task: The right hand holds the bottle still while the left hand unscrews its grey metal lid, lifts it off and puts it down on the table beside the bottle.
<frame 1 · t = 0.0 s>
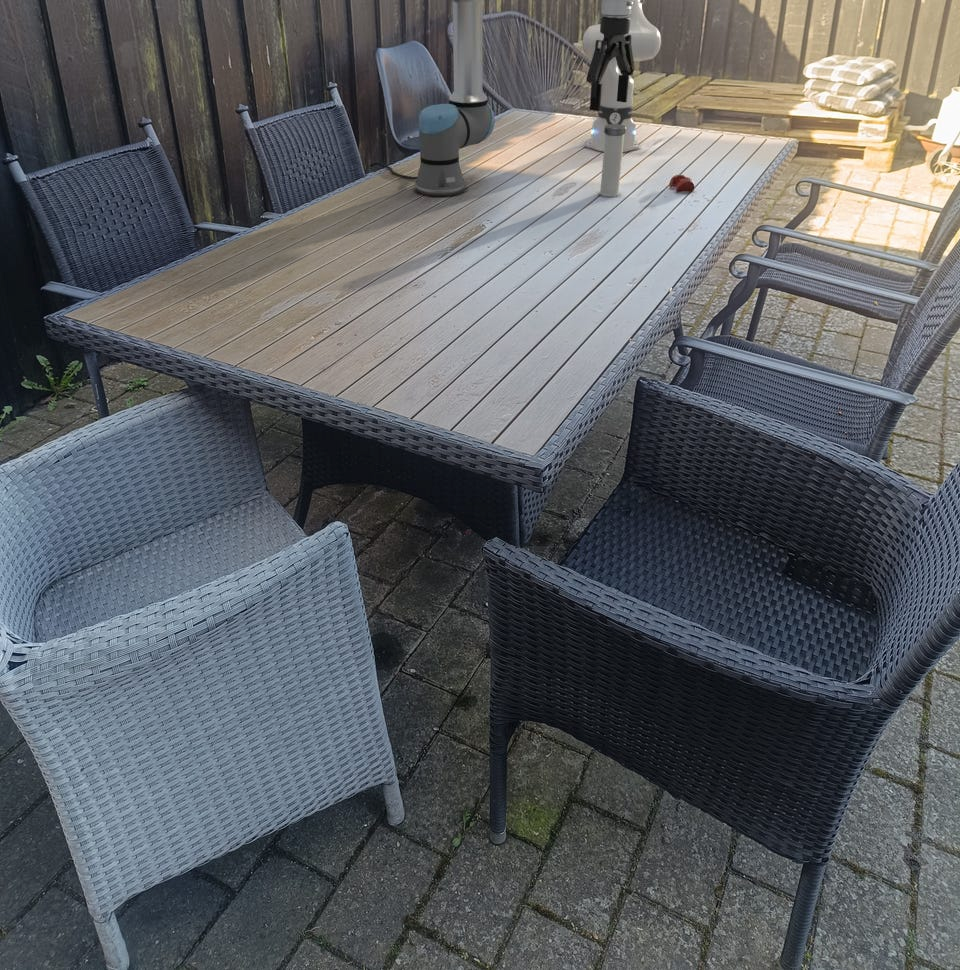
left hand: (608, 106, 226), 28 cm above the table, tool pointing down, fingers open, 13 cm apart
right hand: (625, 3, 246), 48 cm above the table, tool pointing down, fingers open, 8 cm apart
bottle: (609, 194, 255), on the table
lid: (615, 127, 244), point 19 cm above the table, screwed on, not yet turned
dental model: (681, 189, 258), on the table
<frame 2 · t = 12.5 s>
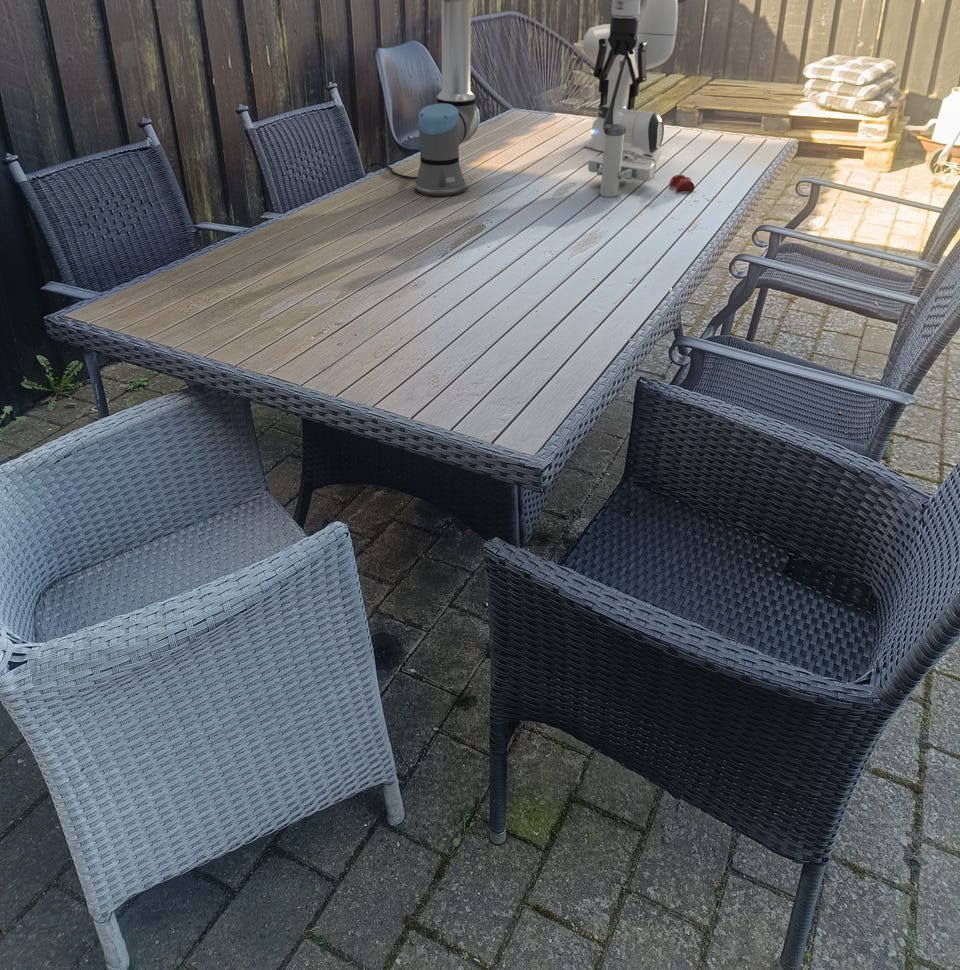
left hand: (617, 106, 240), 25 cm above the table, tool pointing down, fingers open, 8 cm apart
right hand: (609, 174, 251), 6 cm above the table, tool horizontal, fingers closed on bottle, 5 cm apart
bottle: (609, 194, 255), on the table, touching right hand
everything else where it was.
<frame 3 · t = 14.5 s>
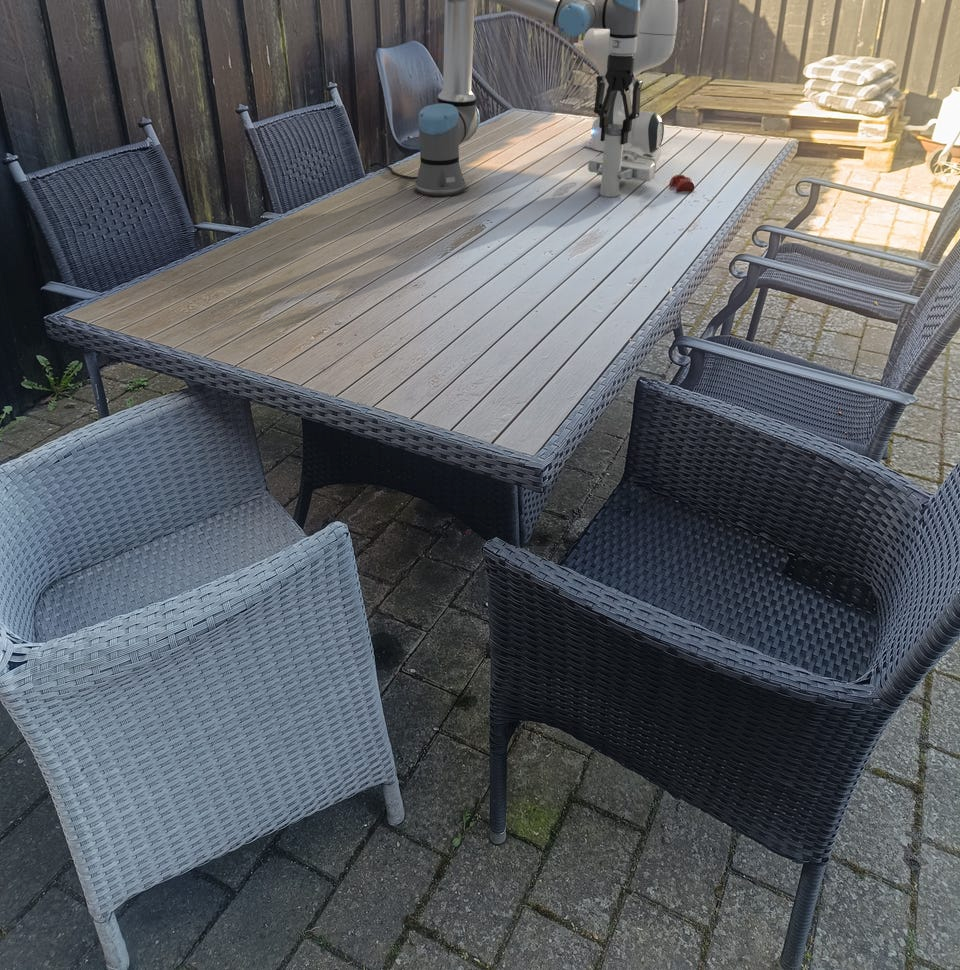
left hand: (613, 141, 246), 15 cm above the table, tool pointing down, fingers closed on lid, 6 cm apart
right hand: (609, 174, 251), 6 cm above the table, tool horizontal, fingers closed on bottle, 5 cm apart
bottle: (609, 194, 255), on the table, touching right hand
lid: (615, 127, 244), point 19 cm above the table, screwed on, not yet turned, touching left hand
everything else where it was.
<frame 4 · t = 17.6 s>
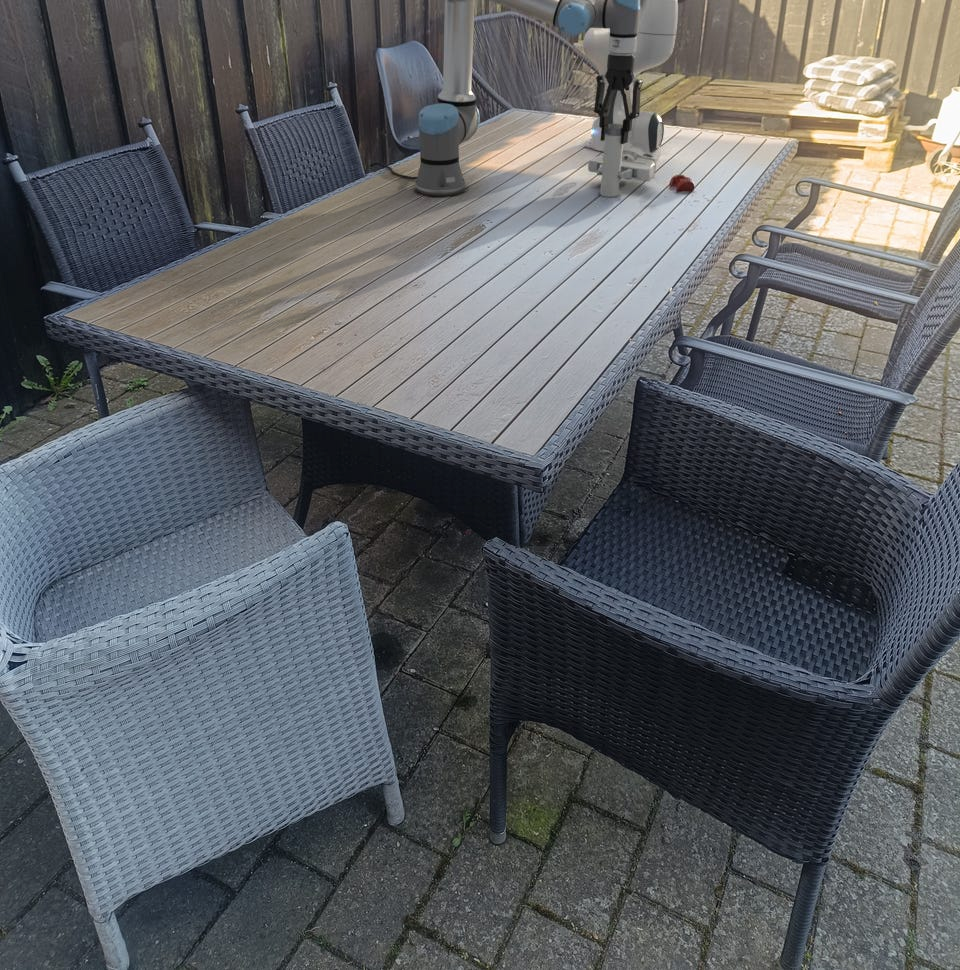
left hand: (613, 141, 246), 15 cm above the table, tool pointing down, fingers closed on lid, 6 cm apart
right hand: (609, 174, 251), 6 cm above the table, tool horizontal, fingers closed on bottle, 5 cm apart
bottle: (609, 194, 255), on the table, touching right hand
lid: (615, 127, 244), point 19 cm above the table, turned 93° so far, risen 0.1 cm, still on its thread, touching left hand
everything else where it was.
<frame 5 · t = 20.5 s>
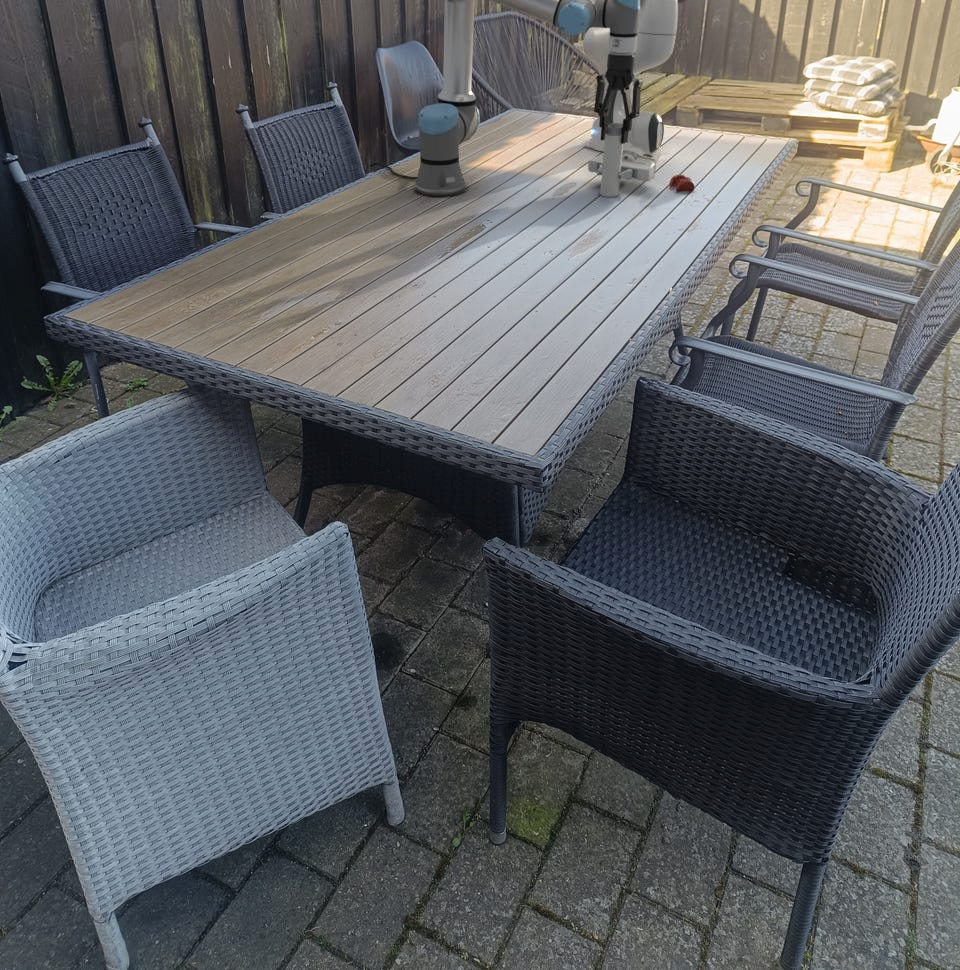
left hand: (614, 140, 246), 15 cm above the table, tool pointing down, fingers closed on lid, 6 cm apart
right hand: (609, 174, 251), 6 cm above the table, tool horizontal, fingers closed on bottle, 5 cm apart
bottle: (609, 194, 255), on the table, touching right hand
lid: (615, 126, 244), point 19 cm above the table, turned 187° so far, risen 0.2 cm, still on its thread, touching left hand
everything else where it was.
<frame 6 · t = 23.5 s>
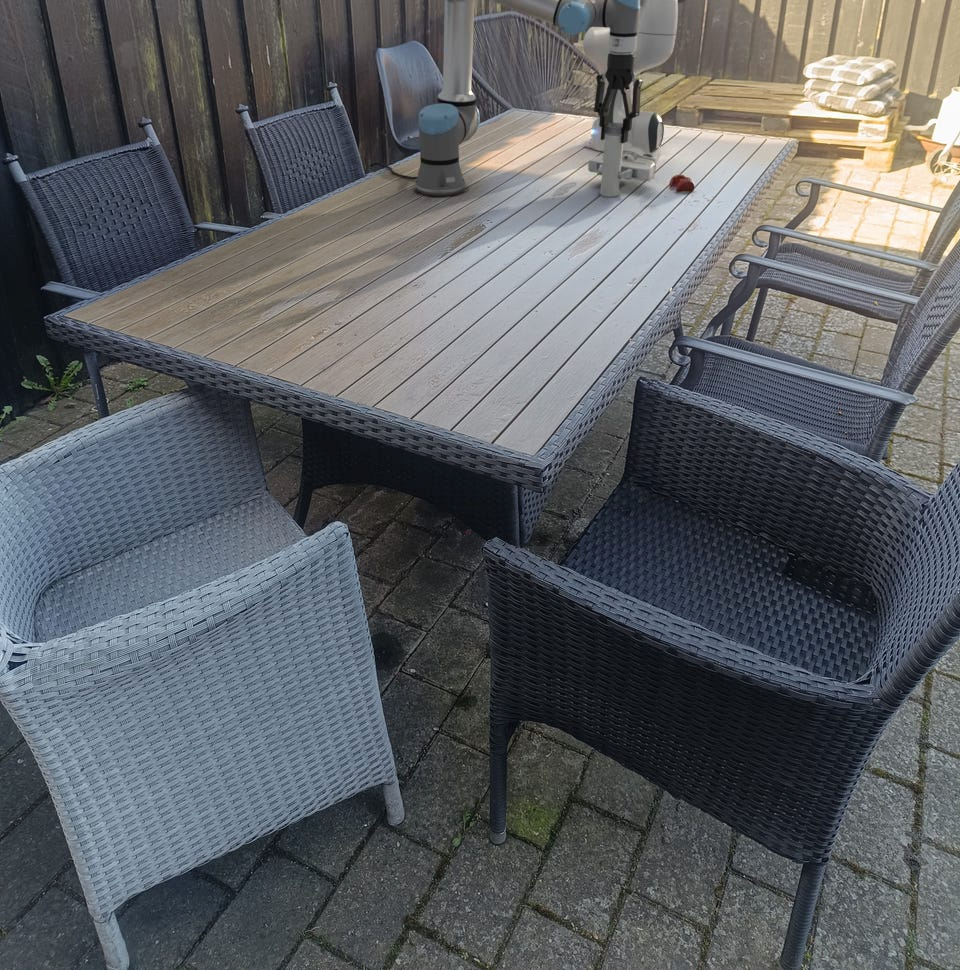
left hand: (614, 140, 246), 16 cm above the table, tool pointing down, fingers closed on lid, 6 cm apart
right hand: (609, 174, 251), 6 cm above the table, tool horizontal, fingers closed on bottle, 5 cm apart
bottle: (609, 194, 255), on the table, touching right hand
lid: (615, 126, 244), point 19 cm above the table, turned 280° so far, risen 0.3 cm, still on its thread, touching left hand
everything else where it was.
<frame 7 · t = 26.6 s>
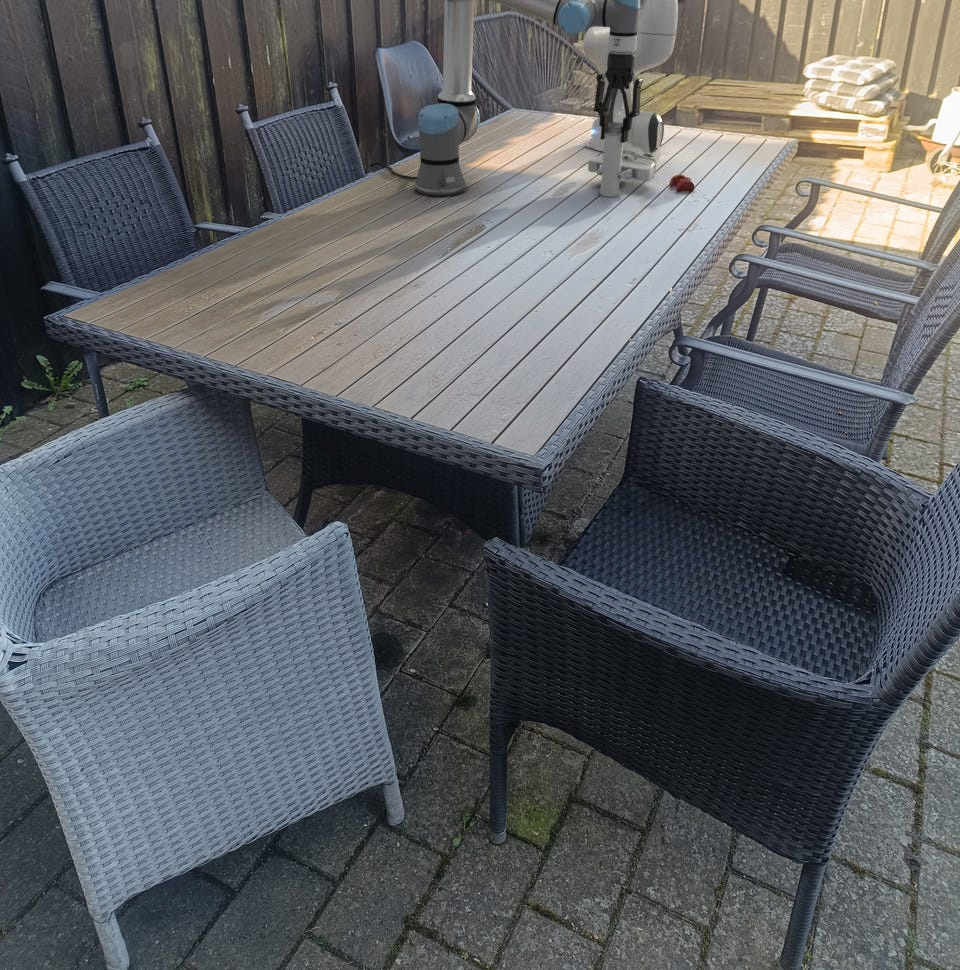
left hand: (614, 140, 246), 16 cm above the table, tool pointing down, fingers closed on lid, 6 cm apart
right hand: (609, 174, 251), 6 cm above the table, tool horizontal, fingers closed on bottle, 5 cm apart
bottle: (609, 194, 255), on the table, touching right hand
lid: (615, 126, 243), point 19 cm above the table, turned 373° so far, risen 0.5 cm, still on its thread, touching left hand
everything else where it was.
when the left hand's fingers open (0 cm above the table, at t = 32.9 s): lid drops 3 cm, point 1 cm above the table.
when the right hand's fingers open (6 cm above the table, at t = 34.0 s): bottle stays where it is, on the table.
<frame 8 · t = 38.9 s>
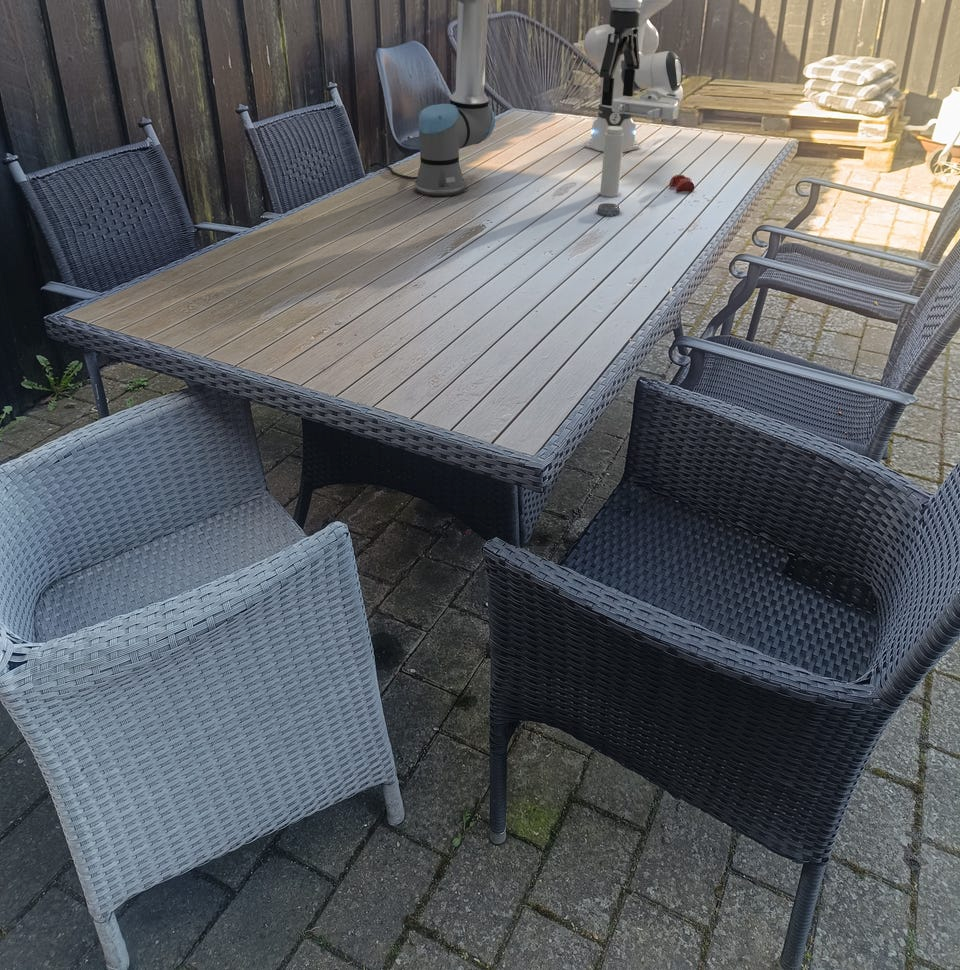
left hand: (617, 100, 223), 30 cm above the table, tool pointing down, fingers open, 13 cm apart
right hand: (634, 112, 251), 21 cm above the table, tool horizontal, fingers open, 8 cm apart
bottle: (609, 194, 255), on the table
lid: (608, 207, 240), point 1 cm above the table, off its thread
everything else where it was.
at the end: lid came off its thread; lid point 1.4 cm above the table; the left hand is holding nothing; the right hand is holding nothing; bottle tilted 0°; bottle moved 0.0 cm from its start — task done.
